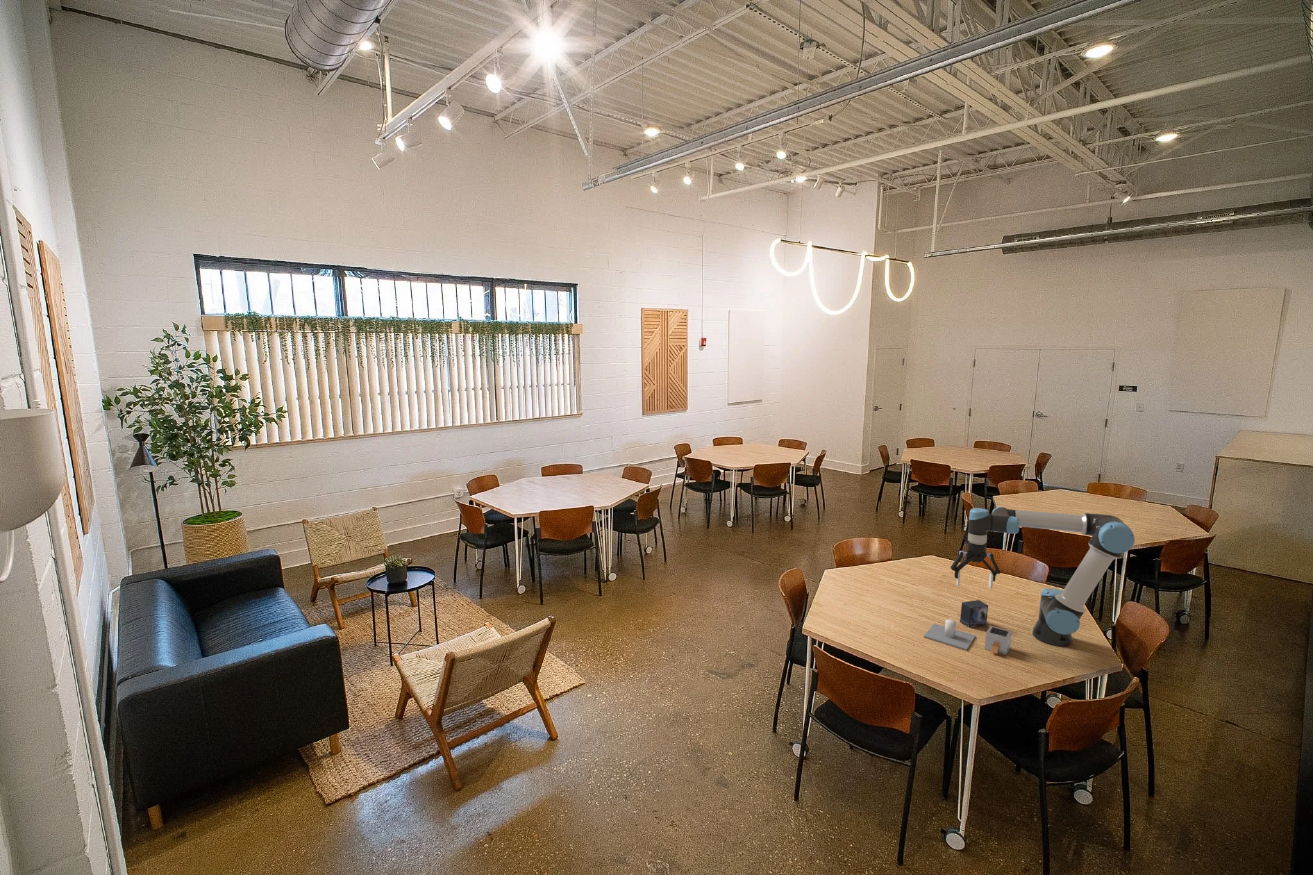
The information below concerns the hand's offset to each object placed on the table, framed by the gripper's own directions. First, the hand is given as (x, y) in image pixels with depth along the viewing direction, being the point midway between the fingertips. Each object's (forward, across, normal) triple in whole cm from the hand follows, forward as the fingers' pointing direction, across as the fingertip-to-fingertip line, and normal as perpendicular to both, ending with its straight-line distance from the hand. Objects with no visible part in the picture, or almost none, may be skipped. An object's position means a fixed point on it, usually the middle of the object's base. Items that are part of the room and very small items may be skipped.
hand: (974, 586), depth 265 cm
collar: (+24, -8, +12) cm, 28 cm away
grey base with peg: (+24, +10, +5) cm, 26 cm away
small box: (+24, -4, -13) cm, 28 cm away
